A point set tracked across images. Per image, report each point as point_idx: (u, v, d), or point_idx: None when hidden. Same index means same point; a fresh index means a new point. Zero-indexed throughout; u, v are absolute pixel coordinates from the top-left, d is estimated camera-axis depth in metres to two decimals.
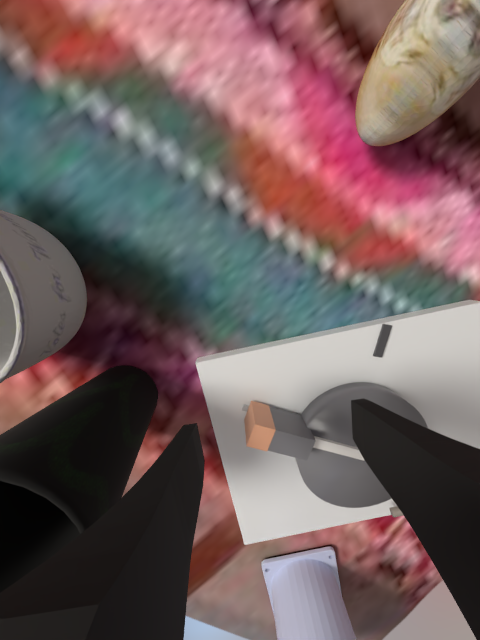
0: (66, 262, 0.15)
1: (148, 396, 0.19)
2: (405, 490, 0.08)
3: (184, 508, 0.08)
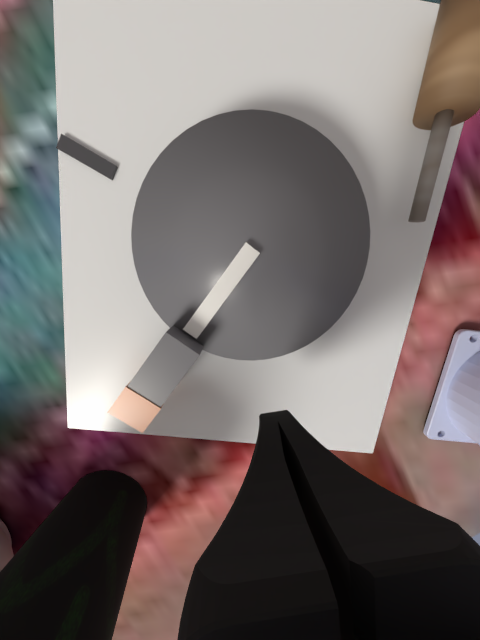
0: None
1: (84, 497, 0.15)
2: (301, 506, 0.08)
3: None
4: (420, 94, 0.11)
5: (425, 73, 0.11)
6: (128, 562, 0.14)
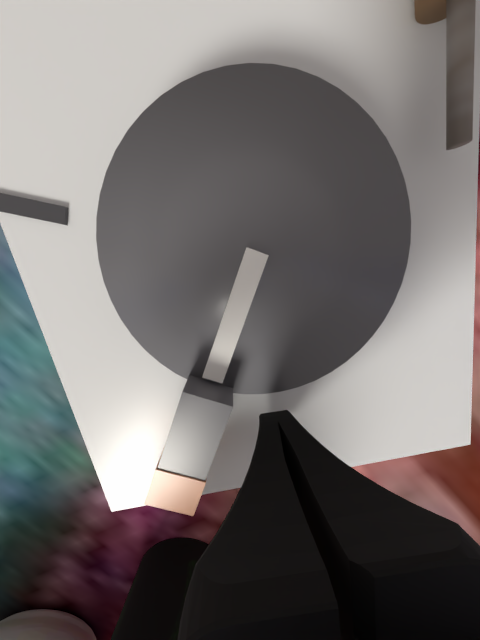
0: None
1: (153, 583, 0.13)
2: (301, 506, 0.08)
3: None
4: None
5: None
6: None
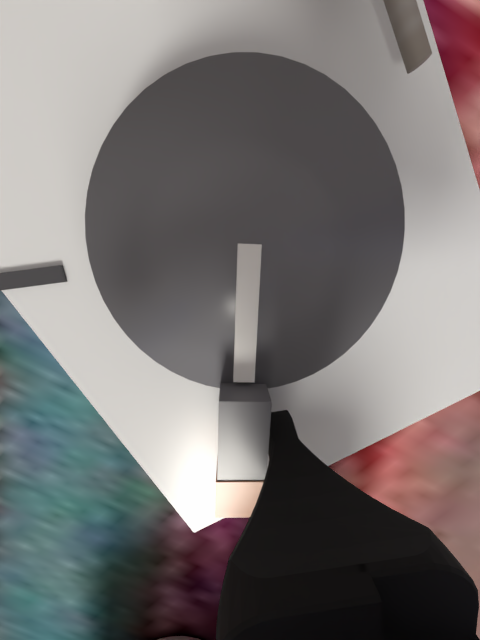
0: None
1: None
2: None
3: None
4: None
5: None
6: None
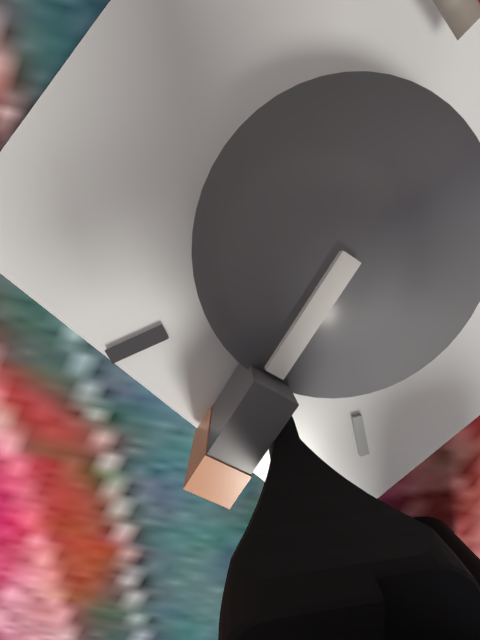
0: None
1: None
2: None
3: None
4: None
5: None
6: None
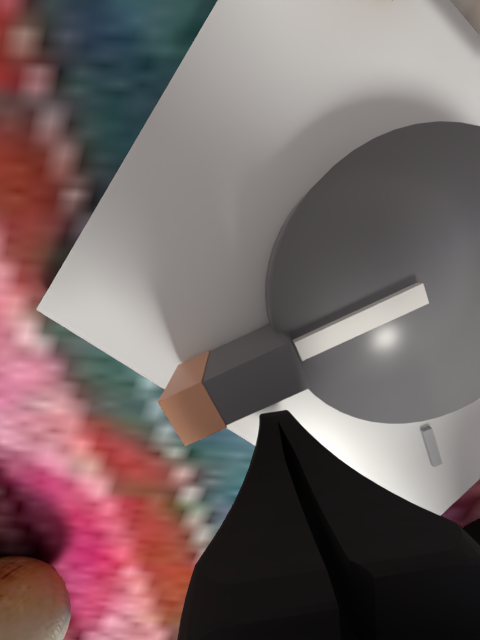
0: None
1: None
2: (301, 506, 0.08)
3: None
4: None
5: None
6: None
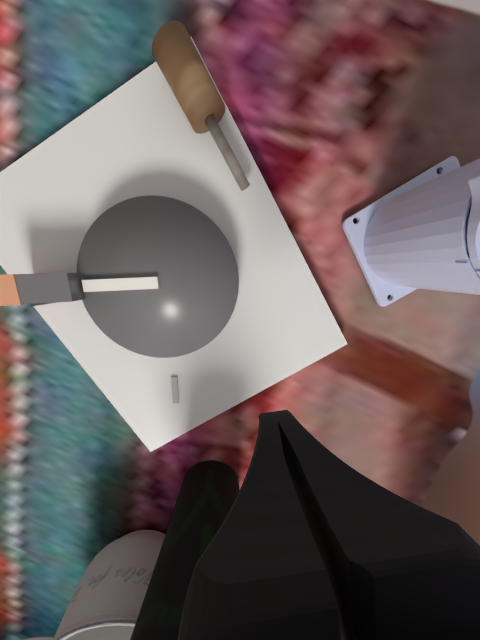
0: (93, 564, 0.21)
1: (187, 485, 0.21)
2: (301, 506, 0.08)
3: None
4: (186, 116, 0.15)
5: (179, 103, 0.15)
6: None
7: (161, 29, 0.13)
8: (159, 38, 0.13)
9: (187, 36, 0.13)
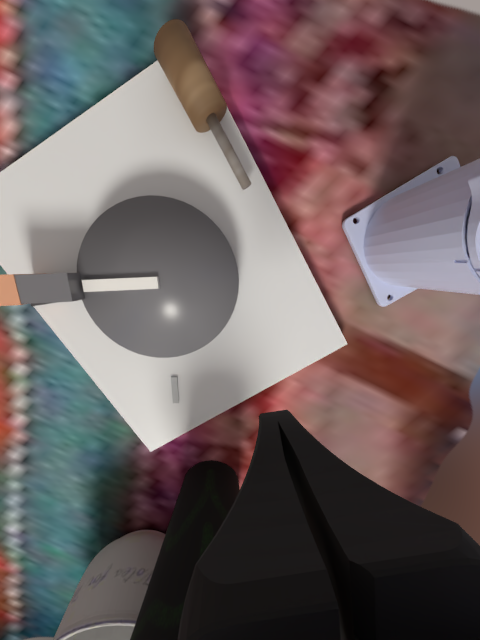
0: (93, 565, 0.21)
1: (187, 485, 0.21)
2: (301, 506, 0.08)
3: None
4: (187, 114, 0.15)
5: (180, 100, 0.14)
6: None
7: (164, 26, 0.13)
8: (162, 35, 0.13)
9: (190, 36, 0.13)
